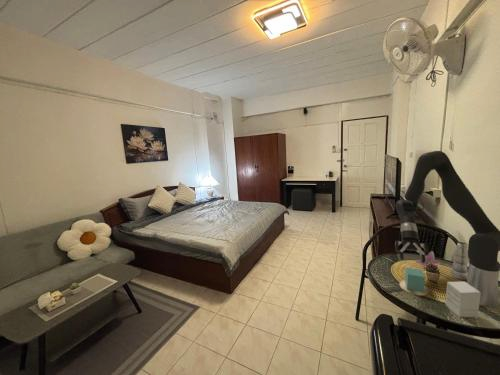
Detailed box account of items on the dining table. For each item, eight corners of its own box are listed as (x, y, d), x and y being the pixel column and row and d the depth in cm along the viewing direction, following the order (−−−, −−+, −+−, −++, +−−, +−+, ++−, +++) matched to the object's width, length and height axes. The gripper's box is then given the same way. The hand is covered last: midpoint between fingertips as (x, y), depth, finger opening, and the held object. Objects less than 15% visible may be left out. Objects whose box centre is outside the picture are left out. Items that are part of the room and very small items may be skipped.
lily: (410, 269, 124) (417, 260, 118) (413, 254, 131) (420, 246, 125) (435, 280, 118) (443, 272, 112) (437, 265, 125) (445, 256, 119)
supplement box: (462, 306, 94) (465, 281, 92) (478, 319, 87) (481, 292, 84) (444, 306, 95) (446, 281, 92) (458, 319, 87) (461, 292, 85)
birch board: (428, 286, 108) (428, 284, 107) (429, 300, 98) (430, 298, 98) (399, 279, 115) (400, 277, 115) (398, 291, 106) (398, 289, 105)
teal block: (404, 281, 111) (405, 267, 109) (420, 284, 108) (421, 269, 106) (407, 289, 105) (407, 274, 104) (423, 292, 102) (424, 277, 101)
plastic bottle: (449, 278, 112) (453, 244, 108) (450, 273, 117) (454, 239, 113) (467, 283, 107) (471, 247, 104) (467, 277, 112) (471, 242, 108)
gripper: (394, 228, 118) (397, 256, 110) (427, 231, 111) (432, 261, 103) (393, 233, 123) (395, 261, 115) (423, 236, 117) (428, 265, 109)
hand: (412, 261), depth 109 cm, fingers open, 8 cm apart
